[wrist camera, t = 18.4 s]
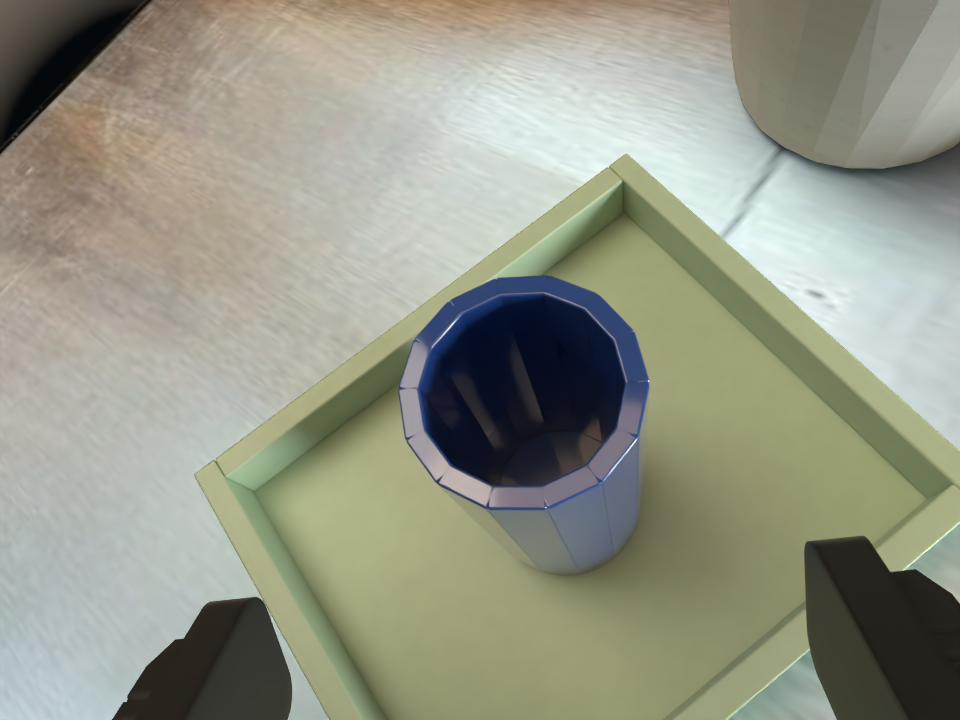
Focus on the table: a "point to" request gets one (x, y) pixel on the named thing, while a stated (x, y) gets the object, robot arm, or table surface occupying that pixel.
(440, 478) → the beaker
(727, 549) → the serving tray
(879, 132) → the potted plant
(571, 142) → the table surface
